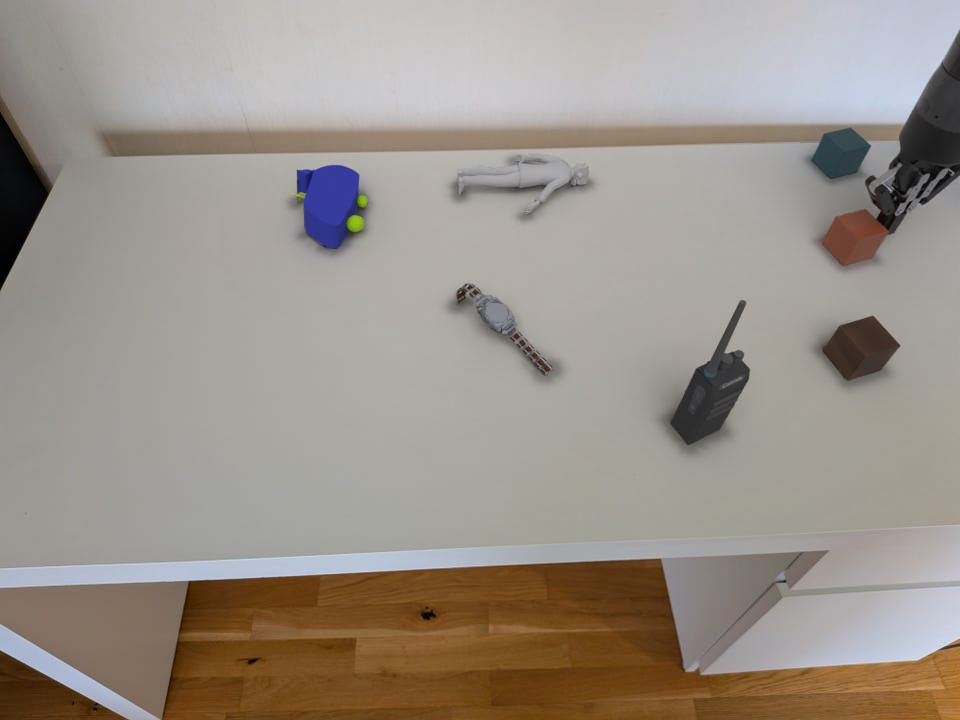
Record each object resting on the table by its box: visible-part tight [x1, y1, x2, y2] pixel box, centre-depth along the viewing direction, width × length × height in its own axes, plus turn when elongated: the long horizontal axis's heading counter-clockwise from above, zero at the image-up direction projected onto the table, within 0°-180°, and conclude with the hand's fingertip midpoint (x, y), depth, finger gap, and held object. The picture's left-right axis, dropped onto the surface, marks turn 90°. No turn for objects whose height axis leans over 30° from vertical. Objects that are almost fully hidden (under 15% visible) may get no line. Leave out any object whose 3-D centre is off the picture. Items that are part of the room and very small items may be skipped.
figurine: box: [457, 152, 590, 215], centre depth 93 cm, size 12×4×18 cm
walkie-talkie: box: [670, 299, 751, 445], centre depth 63 cm, size 5×3×20 cm
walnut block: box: [822, 315, 902, 381], centre depth 75 cm, size 4×4×4 cm
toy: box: [291, 164, 369, 249], centre depth 89 cm, size 12×6×10 cm
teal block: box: [811, 127, 872, 179], centre depth 96 cm, size 4×4×4 cm
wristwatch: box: [455, 282, 554, 376], centre depth 78 cm, size 4×14×5 cm, turn 44°
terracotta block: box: [821, 208, 889, 267], centre depth 85 cm, size 4×4×4 cm
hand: (882, 230), depth 86 cm, fingers closed
